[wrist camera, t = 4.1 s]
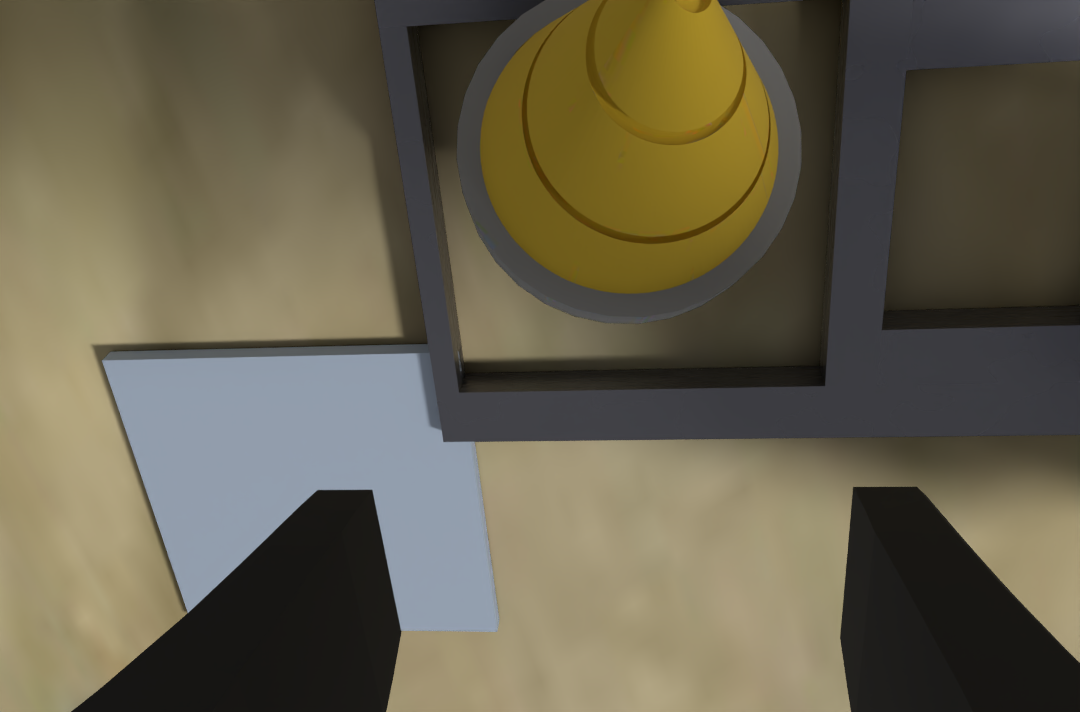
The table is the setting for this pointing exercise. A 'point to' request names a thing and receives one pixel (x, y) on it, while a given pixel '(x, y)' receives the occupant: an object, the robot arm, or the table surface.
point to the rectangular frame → (850, 277)
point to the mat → (308, 464)
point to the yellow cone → (628, 154)
